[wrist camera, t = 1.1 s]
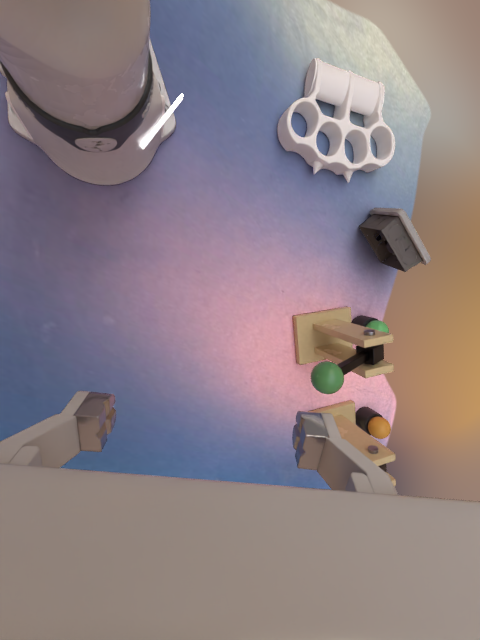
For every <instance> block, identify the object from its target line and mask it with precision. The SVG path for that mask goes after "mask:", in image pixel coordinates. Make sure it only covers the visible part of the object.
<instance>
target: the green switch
mask: <svg viewBox="0 0 480 640" xmlns="http://www.w3.org/2000/svg"><path fill="white" fill-rule="evenodd" d="M383 359H384V348H383V344H380V345H376V346H371V347H367V348H363V347H360V346H356V354H355V355H354V356H352V357H350V358H348V359H346V360H344V361H343V362H341V363H339V364H337V365H336V364H335V363H333V362H328V361H325V362H321V363H318V364H317V365H316V366H315V367H314V368H313V370H312V372H311V382H312V384H313V386H314V388H315V389H316V390H318V391H319V392H321V393H324V394H332V393H335V392H337V391H338V390H339V389H340V388H341V387H342V385H343V382H344V375H345V374H347V373H348V372H350V371H352V370H353V369H355V368H357V367H358V366H360V365H362V364H363V363H365V364H370V365H375V364H377V363H378V362H380V361H381V360H383Z"/></svg>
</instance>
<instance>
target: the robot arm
mask: <svg viewBox="0 0 480 640" xmlns="http://www.w3.org/2000/svg"><path fill="white" fill-rule="evenodd" d="M150 17H151V11H150V0H0V71H1V74H2V76H4V77H6V78H7V92H5V95H6V99H7V101H8V121H9V124H10V125H11V127H12V129H13V130H14V131H15V132H16V133H17V134H19V135H20V136H22V137H23V138H25V139H27V140H29V141H30V142H32V143H34V144H36V145H38V146H39V147H40V148H41V149H42V150H43V151H44V152H45V153H46V154H47V155H48V156H49V158H50V159H51V160H52V161H53V162H54V163H55V164H56V165H57V166H59V167H60V168H61V169H62V170H64V171H65V172H67V173H68V174H70V175H71V176H73V177H75V178H77V179H80V180H82V181H85V182H88V183H92V184H98V185H115V184H120V183H123V182H126V181H129V180H131V179H133V178H135V177H136V176H138V175H139V174H140V173H141V172H143V171H144V170H145V168H146V167H147V166H148V165H149V163H150V162H151V160H152V159H153V157H154V154H155V152H156V150H157V148H158V146H159V145H160V143H161V142H163V141H164V140H165V139H167V138H168V137H169V136H170V135H171V134H172V133H173V132H174V130H175V128H176V120H175V117H174V113H173V111H174V110H175V108H176V107H177V106H178V104H179V103H180V102H181V101H182V99H183V94H182V93H181V94H180V96H179V97H178V98H177V99H176V101H175V102H174V103H173V105H172V106H171V104H170V101H169V98H168V94H167V91H166V88H165V85H164V82H163V79H162V75H161V72H160V69H159V66H158V63H157V60H156V56H155V53H154V50H153V47H152V44H151V41H150ZM165 112H166V114H165ZM114 404H115V396H114V394H107V393H98V392H88V391H78V392H76V394H75V395H74V396H73V398H72V399H71V400H70V401H69V403H68V404H67V405H66V407H65V408H64V409H63V411H62V412H61V413H60V414H56V415H54V416H52V417H49V418H47V419H45V420H43V421H41V422H39V423H37V424H35V425H33V426H31V427H29V428H27V429H25V430H23V431H21V432H19V433H17V434H15V435H13V436H11V437H9V438H7V439H5V440H3V441H0V640H480V501H466V500H454V499H441V498H428V497H415V496H403V495H398V493H397V491H396V489H395V487H394V485H393V483H392V481H391V479H390V477H389V475H388V474H387V473H386V472H384V471H383V470H382V469H381V468H380V467H378V466H377V465H376V464H375V463H373V462H372V461H371V460H370V459H369V458H367V457H366V456H365V455H364V454H362V453H361V452H360V451H359V450H358V449H356V448H355V447H354V446H353V445H352V444H350V443H349V442H348V441H347V440H345V439H342V438H341V435H340V433H339V430H338V428H337V425H336V422H335V420H334V417H333V415H332V414H331V413H315V412H304V411H298V412H297V415H296V422H297V424H296V425H295V426H294V428H293V437H292V439H293V447H294V449H295V450H296V454H295V457H296V462H297V467H298V468H302V469H311V470H317V472H318V473H319V474H320V475H321V477H322V478H323V479H324V480H325V481H326V483H327V484H328V485H329V486H330V488H331V489H332V490H328V489H315V488H302V487H290V486H277V485H265V484H252V483H240V482H227V481H215V480H202V479H189V478H177V477H164V476H152V475H139V474H127V473H114V472H102V471H89V470H77V469H64V468H60V467H61V466H62V465H64V464H65V463H66V462H68V461H69V460H70V459H72V458H73V457H74V456H76V455H77V454H78V453H79V452H80V451H94V452H101V451H102V449H103V447H104V445H105V444H106V442H107V435H108V434H109V433H111V432H112V430H113V427H114V424H115V420H116V410H115V409H114V408H113V406H114Z"/></svg>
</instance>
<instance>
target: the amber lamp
mask: <svg viewBox="0 0 480 640" xmlns="http://www.w3.org/2000/svg"><path fill="white" fill-rule="evenodd" d="M355 419H356V425H357V426H358V427H359V428H361V429H362V430H363V431H365V432H366V433H367V434H369V435H372V436H373V437H375V438H378V439H383V438H386V437H387V436H388V435H389V434H390V431H391V427H390V424H389V422H388V421H387V420H386V419H384V418H383V417H382V416H381V415H380V414H378V413H377V412H375V411H374V410H372V409H370V408H369V407H362V408H360V409H359V410H358V411H357V412H356V414H355Z"/></svg>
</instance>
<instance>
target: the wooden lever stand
mask: <svg viewBox="0 0 480 640" xmlns="http://www.w3.org/2000/svg"><path fill="white" fill-rule="evenodd" d="M293 324H294V336H295V349H296V362H297V364H299V365H302V364H307V363H311V362H316V361H321V360H325V359H328V360H330V361H332V362H334V363H336V364H339V363H341V362H343V361H344V360H346V359H348V358H350V357H352V356H354V355H355V354H356V349H353V348H352V344H355V345H358V346H360V347H363V348H367V347H371V346H376V345H380V344H385V343H389V342H393V334H389V333H386V332H382V331H379V330H375V329H371V328H368V327H364V326H360V325H357V324H353V323H351V307H347V306H346V307H341V308H335V309H329V310H323V311H318V312H312V313H306V314H300V315H295V316H293ZM393 371H394V365H393V364H392V363H389V362H386V361H384V360H381V361H380V362H378V363H377V364H375V365H370V364H365V363H363V364H362V365H360V366H358V367H357V368H355V369H353V370H352V372H354V373H356V374H358V375H360V376H362V377H364V378H369V377H373V376H377V375H381V374H385V373H389V372H393Z"/></svg>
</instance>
